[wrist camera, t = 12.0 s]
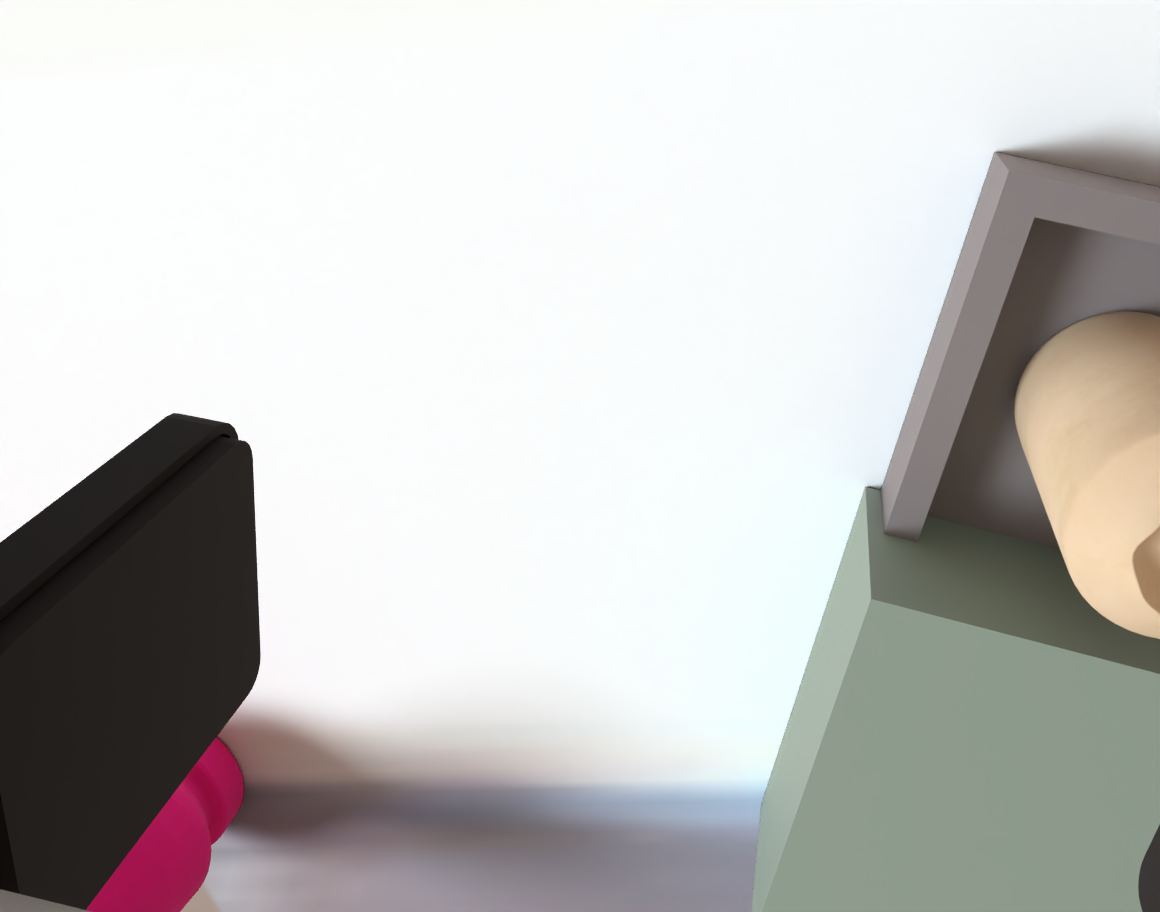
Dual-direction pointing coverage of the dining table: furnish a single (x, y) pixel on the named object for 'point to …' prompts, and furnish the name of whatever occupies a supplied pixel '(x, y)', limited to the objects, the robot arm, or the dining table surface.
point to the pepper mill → (177, 840)
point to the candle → (1100, 458)
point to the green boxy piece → (978, 617)
